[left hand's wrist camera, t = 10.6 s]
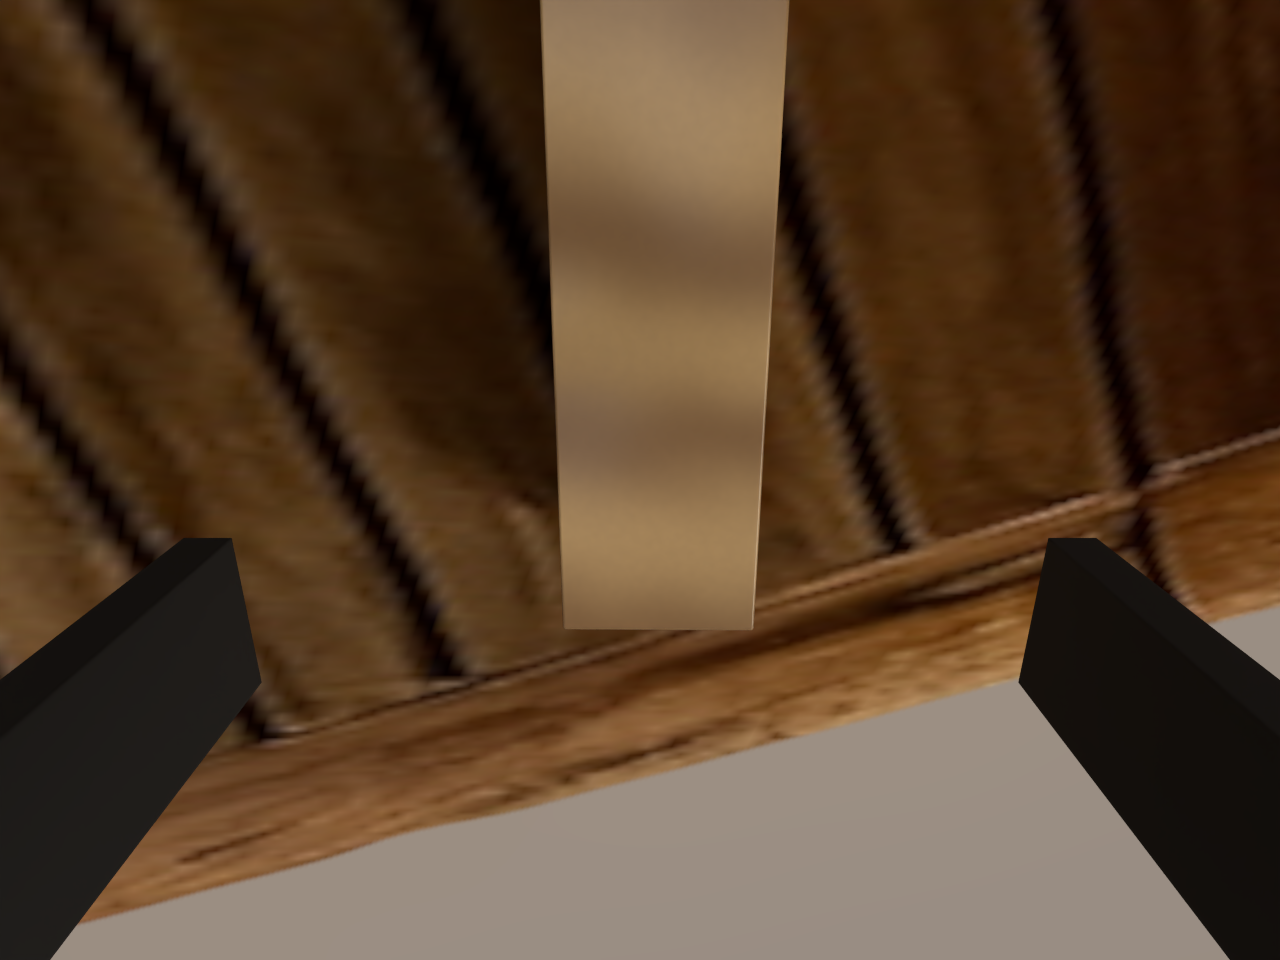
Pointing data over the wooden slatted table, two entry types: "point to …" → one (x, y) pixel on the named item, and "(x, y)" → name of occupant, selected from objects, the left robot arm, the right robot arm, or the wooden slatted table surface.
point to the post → (661, 300)
